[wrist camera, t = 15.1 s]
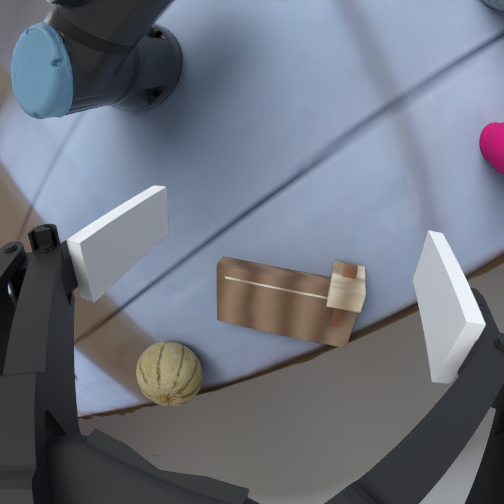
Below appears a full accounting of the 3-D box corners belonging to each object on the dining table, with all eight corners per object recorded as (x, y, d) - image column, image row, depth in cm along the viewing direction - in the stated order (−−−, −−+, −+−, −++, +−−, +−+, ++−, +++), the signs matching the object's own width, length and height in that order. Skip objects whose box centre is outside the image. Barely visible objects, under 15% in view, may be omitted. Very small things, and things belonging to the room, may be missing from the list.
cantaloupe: (144, 336, 74) (111, 379, 61) (184, 321, 67) (150, 370, 54) (182, 377, 77) (156, 422, 65) (224, 368, 70) (199, 419, 58)
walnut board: (223, 310, 62) (217, 320, 59) (223, 256, 56) (216, 265, 53) (347, 336, 57) (346, 348, 54) (363, 283, 51) (363, 294, 48)
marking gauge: (323, 307, 55) (318, 339, 48) (335, 252, 49) (332, 279, 42) (351, 313, 53) (349, 344, 47) (366, 257, 48) (368, 286, 41)
